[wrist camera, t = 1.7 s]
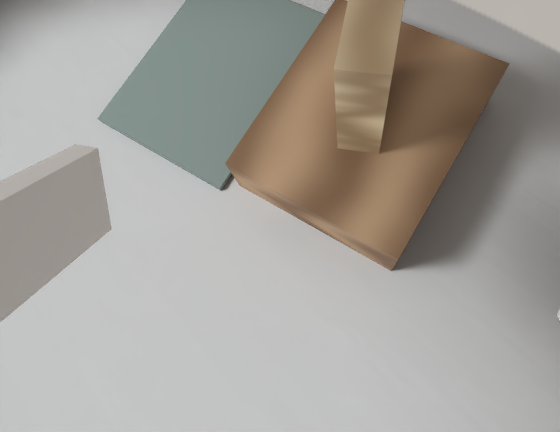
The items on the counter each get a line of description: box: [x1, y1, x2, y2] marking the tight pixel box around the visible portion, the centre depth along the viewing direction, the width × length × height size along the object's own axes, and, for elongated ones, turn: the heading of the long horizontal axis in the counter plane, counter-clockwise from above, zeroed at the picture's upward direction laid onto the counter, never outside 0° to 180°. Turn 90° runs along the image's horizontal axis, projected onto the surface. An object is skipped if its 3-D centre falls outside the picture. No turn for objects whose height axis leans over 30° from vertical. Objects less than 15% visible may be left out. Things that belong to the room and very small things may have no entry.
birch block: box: [334, 0, 405, 154], centre depth 23 cm, size 2×5×8 cm, turn 168°
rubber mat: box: [98, 0, 325, 190], centre depth 34 cm, size 12×16×1 cm
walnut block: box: [225, 0, 509, 271], centre depth 29 cm, size 12×14×4 cm
